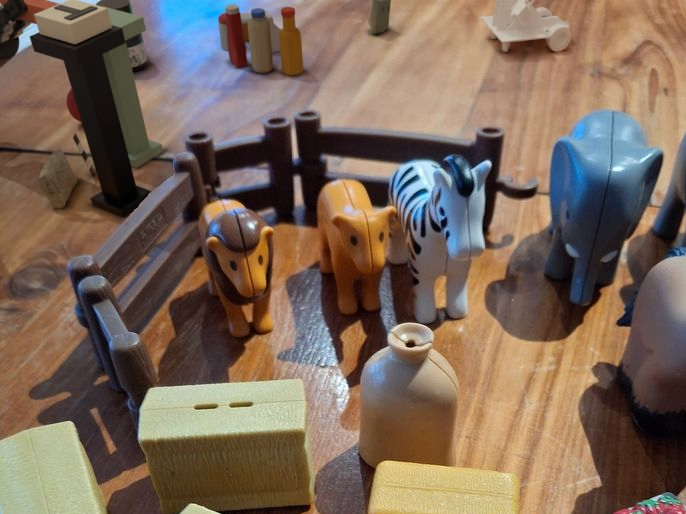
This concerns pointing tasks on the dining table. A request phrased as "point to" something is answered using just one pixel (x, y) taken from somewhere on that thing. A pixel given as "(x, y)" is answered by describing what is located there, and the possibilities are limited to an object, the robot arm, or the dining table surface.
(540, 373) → the dining table surface
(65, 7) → the beige flat block
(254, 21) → the toy food
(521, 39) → the catapult
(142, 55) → the ink bottle
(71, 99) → the onion
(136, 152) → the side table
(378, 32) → the olive upright narrow post
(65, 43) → the tall stand
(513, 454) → the dining table surface
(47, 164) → the cuneiform tablet
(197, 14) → the dining table surface
